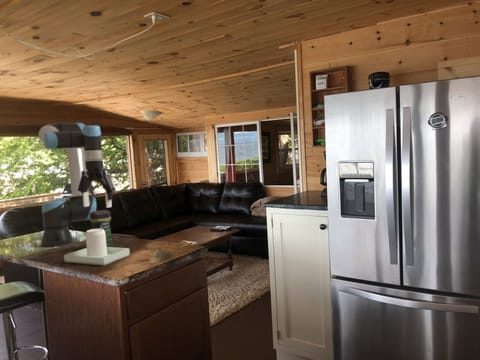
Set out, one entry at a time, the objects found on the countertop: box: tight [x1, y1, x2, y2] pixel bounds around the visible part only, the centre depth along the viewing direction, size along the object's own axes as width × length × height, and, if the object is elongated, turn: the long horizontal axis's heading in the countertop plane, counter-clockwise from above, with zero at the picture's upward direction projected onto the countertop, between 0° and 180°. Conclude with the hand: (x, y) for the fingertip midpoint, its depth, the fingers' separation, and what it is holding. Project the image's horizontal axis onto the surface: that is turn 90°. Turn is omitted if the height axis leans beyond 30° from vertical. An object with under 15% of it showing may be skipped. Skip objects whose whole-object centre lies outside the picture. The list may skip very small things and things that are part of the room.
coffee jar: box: [89, 209, 114, 247], centre depth 190 cm, size 10×8×19 cm
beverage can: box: [85, 228, 107, 257], centre depth 171 cm, size 8×8×12 cm
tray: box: [63, 246, 131, 266], centre depth 171 cm, size 22×16×3 cm
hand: (97, 206), depth 177 cm, fingers open, 13 cm apart
